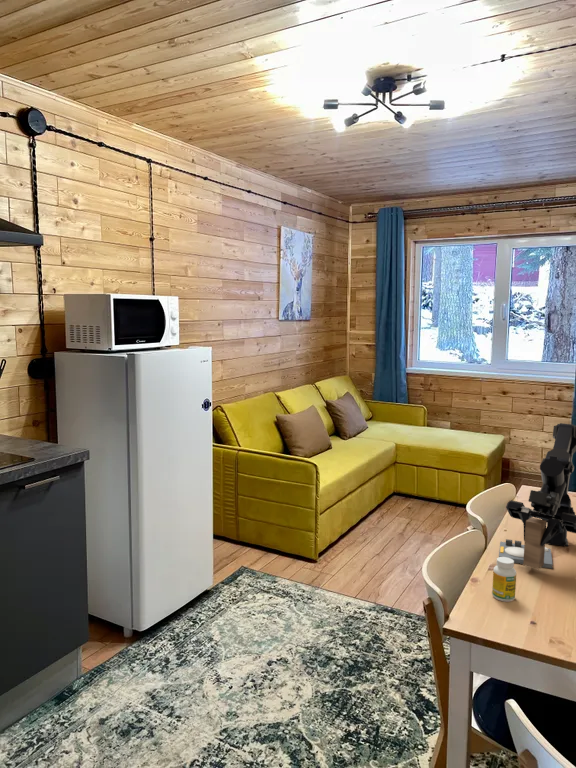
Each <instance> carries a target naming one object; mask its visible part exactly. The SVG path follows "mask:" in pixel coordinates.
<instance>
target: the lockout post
mask: <svg viewBox="0 0 576 768" xmlns="http://www.w3.org/2000/svg"><path fill="white" fill-rule="evenodd" d="M546 528H547V521H545V520H542V519H539V518H535V517H531V518H530V519H528V520H526V527H525V541H524V544H523V545H524V561H523V564H522V565H523V566H525V567H528V568H531V569H535V570H539V569H541V568H543V567H542V566H543V565H544V554H545V547H546V544H544V545H543V546H541V545H540V543H541V539H542V537H543V535H544V532H545V530H546Z"/></svg>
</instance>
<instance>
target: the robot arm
mask: <svg viewBox="0 0 576 768" xmlns="http://www.w3.org/2000/svg"><path fill="white" fill-rule="evenodd" d="M552 438H553V439H554V443H553V446H552V449H551V450H549V451H547V452H546V455H545V457H544V458H542V461H541V463H540V464H539V470H540V475H541V481H542V485H541V488H540V490H531V489H530V492H529V496H528V502H529V503H530V506H531V507H526V506H525V503H524V502H521V501H517V500H512V499H511V500H509V501H507V503H506V506H505V508H506V510H507V512H508V514H509V516H510V517H511V518H512V519H517V520H521V522H522V523H523V541H524V542H525V527H526V520H528V519H530V518H531V517H533V518H537V519H541V520H545V521H547V523H546V530H545V532H544V535H543V537H542V539H541V543H540V545H541V546H543V545H544V544H545V545H546V544H547V545H555V546H560V547H567V548H568V547H569V540H568V533H572V534H576V512H575V510H574V507H572V500H571V497H570V495H569V493H568V492H569V486H570V485H569V484H570V477H571V475H572V473H573V472H574V470H575V466H574V464H573V455H574V454H575V453H576V425H575V424H573V423H571V424H570V423H562V422H560V423H557V424H556V425H553V430H552ZM532 508H533V509H532Z"/></svg>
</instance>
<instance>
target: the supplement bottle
mask: <svg viewBox="0 0 576 768" xmlns="http://www.w3.org/2000/svg"><path fill="white" fill-rule="evenodd" d="M514 566H515V563H514V560H512V559H511V558H507V557H499V556H498V557H496V565H494V567H493V571H492V587H491V588H492V591H491V594H492V596H493V598H494V599H496V600H498V601H500V602H505V603H508V602H509V603H510V602H512V601H514V600H516V599H515V598H516V586H517V570H516V569H515V568H514Z"/></svg>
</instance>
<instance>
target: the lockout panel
mask: <svg viewBox="0 0 576 768" xmlns="http://www.w3.org/2000/svg"><path fill="white" fill-rule="evenodd" d="M552 556H553V555H552V549H551V548H548V547H546V546H545V554H544V565H543V566H542V567H541V568H545V569H552V570H553V558H552ZM498 557H507V558H511V559H512V560H514V564H519V563H520V565H523V561H524V544H522V541H521V540H514V543H513V539H508V538H506V539H505V541H501V540H500V542H499V551H498Z"/></svg>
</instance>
